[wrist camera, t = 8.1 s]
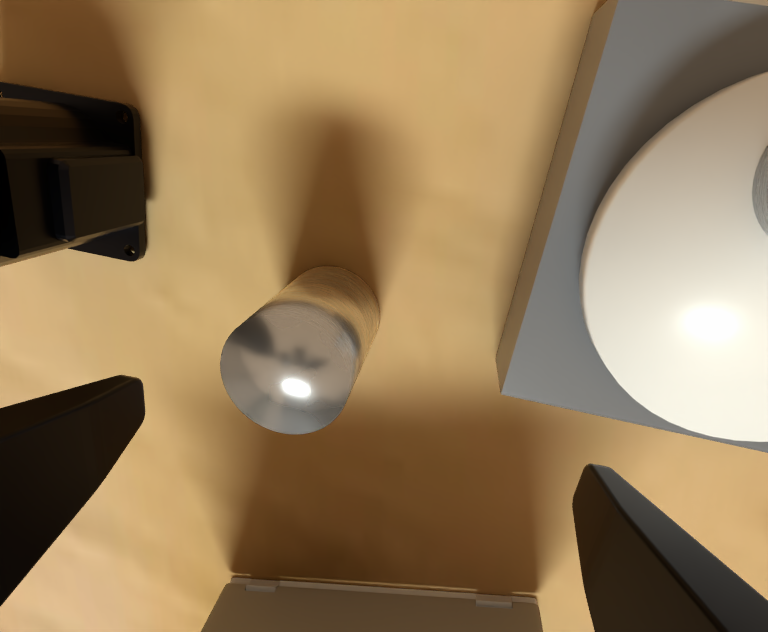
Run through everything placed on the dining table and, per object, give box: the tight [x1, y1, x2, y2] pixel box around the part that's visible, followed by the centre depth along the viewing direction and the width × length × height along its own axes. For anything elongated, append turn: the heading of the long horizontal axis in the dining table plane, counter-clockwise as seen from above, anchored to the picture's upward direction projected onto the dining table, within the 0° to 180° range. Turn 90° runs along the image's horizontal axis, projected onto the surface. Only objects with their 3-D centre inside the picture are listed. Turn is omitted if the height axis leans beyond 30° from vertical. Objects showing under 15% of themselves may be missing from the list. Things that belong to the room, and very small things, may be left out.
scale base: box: [496, 0, 768, 453], centre depth 15 cm, size 13×14×3 cm
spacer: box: [220, 266, 380, 434], centre depth 18 cm, size 4×4×6 cm
